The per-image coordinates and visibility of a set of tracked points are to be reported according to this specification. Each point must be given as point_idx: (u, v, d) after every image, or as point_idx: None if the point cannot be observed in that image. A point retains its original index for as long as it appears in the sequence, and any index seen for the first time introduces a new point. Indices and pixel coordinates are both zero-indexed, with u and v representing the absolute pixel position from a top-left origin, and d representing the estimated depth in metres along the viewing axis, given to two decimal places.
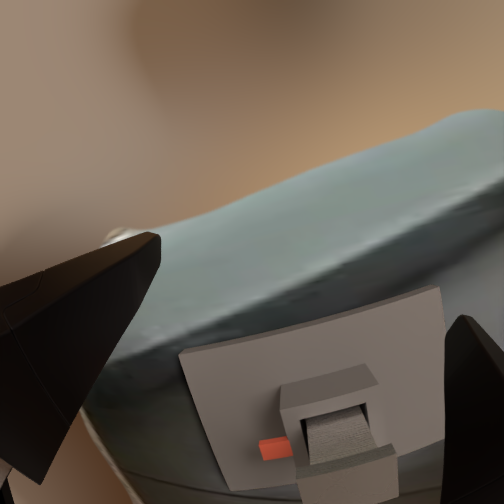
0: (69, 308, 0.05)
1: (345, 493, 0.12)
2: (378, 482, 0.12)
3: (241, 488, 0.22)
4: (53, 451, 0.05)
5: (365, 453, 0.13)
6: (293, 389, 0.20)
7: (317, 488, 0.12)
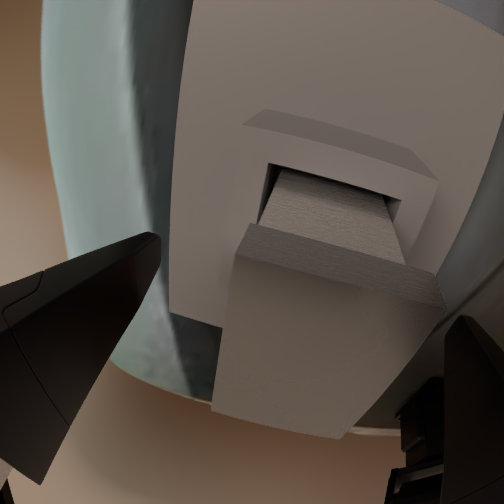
0: (69, 308, 0.05)
1: (305, 386, 0.06)
2: (327, 331, 0.05)
3: None
4: (53, 451, 0.05)
5: None
6: None
7: (252, 405, 0.07)
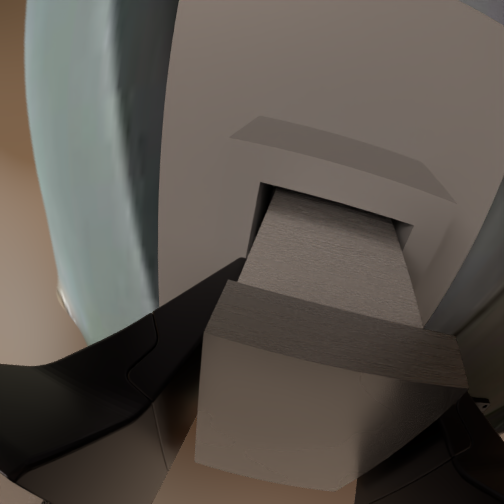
0: (197, 357, 0.05)
1: (297, 454, 0.05)
2: (324, 412, 0.04)
3: None
4: (151, 500, 0.05)
5: None
6: None
7: (239, 463, 0.06)
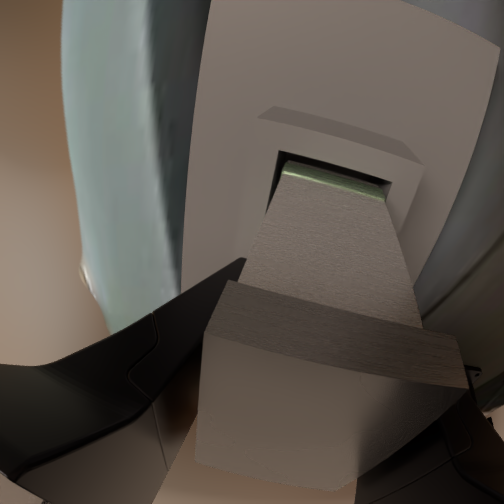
0: (197, 357, 0.05)
1: (297, 454, 0.05)
2: (323, 412, 0.04)
3: None
4: (152, 500, 0.05)
5: None
6: None
7: (239, 463, 0.06)
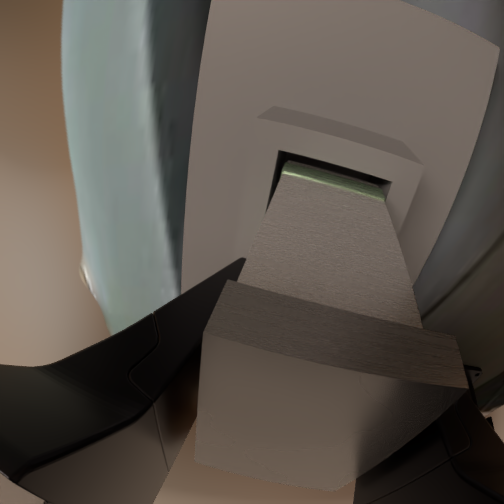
0: (197, 358, 0.05)
1: (297, 454, 0.05)
2: (323, 412, 0.04)
3: None
4: (152, 501, 0.05)
5: None
6: None
7: (239, 463, 0.06)
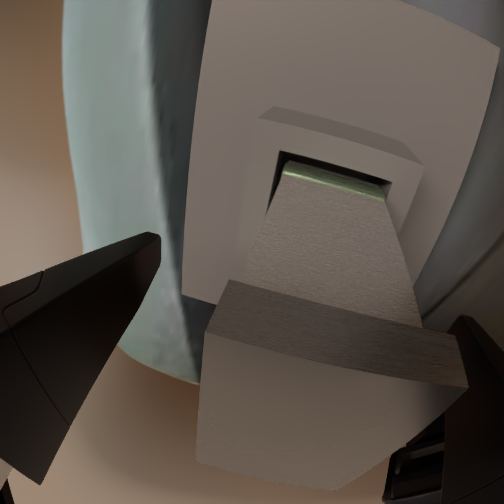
0: (69, 308, 0.05)
1: (297, 453, 0.05)
2: (324, 411, 0.04)
3: None
4: (53, 451, 0.05)
5: None
6: None
7: (239, 462, 0.06)
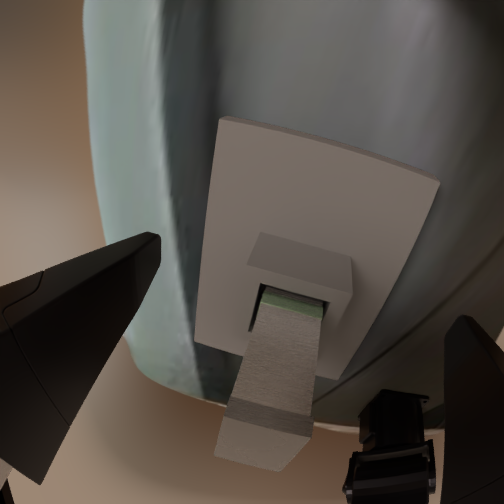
0: (69, 308, 0.05)
1: (257, 451, 0.12)
2: (262, 437, 0.11)
3: (338, 373, 0.27)
4: (53, 451, 0.05)
5: None
6: None
7: (234, 455, 0.13)
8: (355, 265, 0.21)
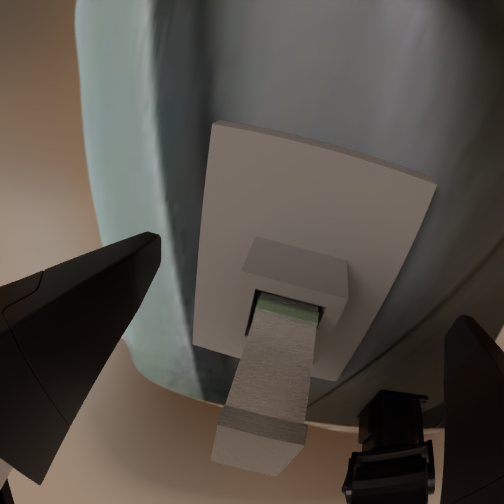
0: (69, 308, 0.05)
1: (252, 457, 0.12)
2: (256, 445, 0.11)
3: (337, 374, 0.27)
4: (53, 451, 0.05)
5: None
6: None
7: (230, 460, 0.13)
8: (351, 269, 0.21)
